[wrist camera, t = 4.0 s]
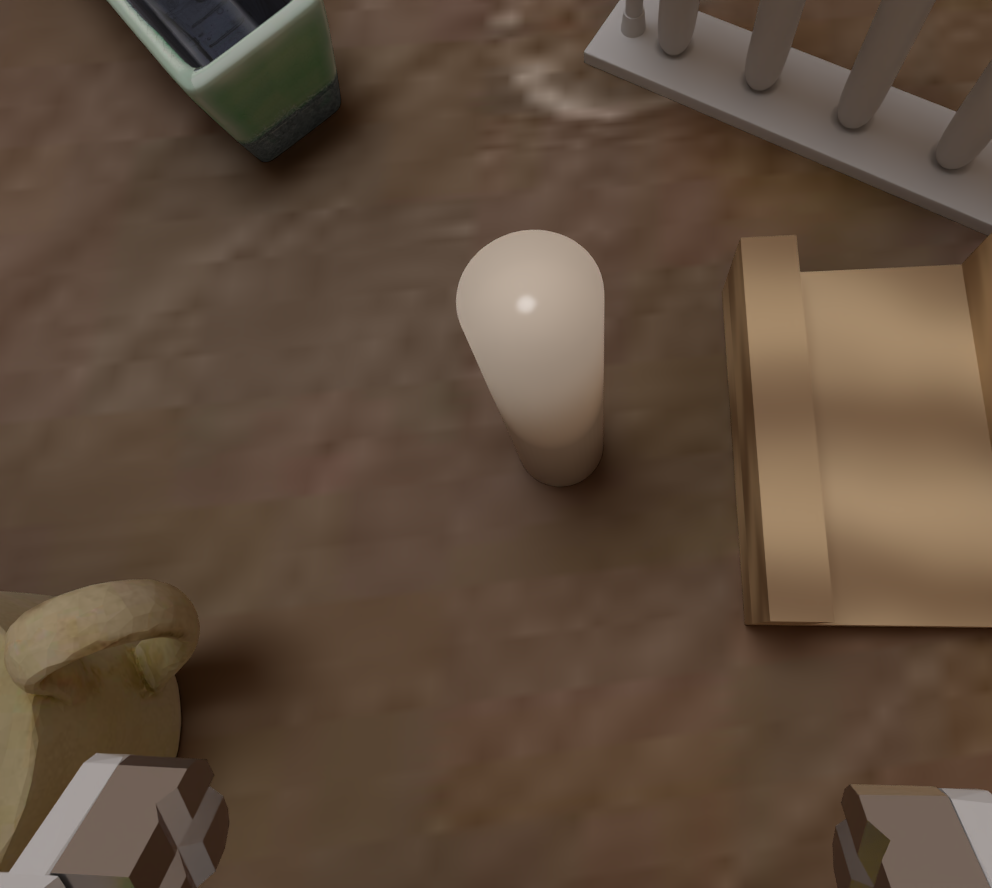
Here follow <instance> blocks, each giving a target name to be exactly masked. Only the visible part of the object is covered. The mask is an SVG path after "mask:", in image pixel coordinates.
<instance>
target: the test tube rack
mask: <svg viewBox="0 0 992 888" xmlns="http://www.w3.org/2000/svg"><path fill="white" fill-rule="evenodd" d="M805 1H806V0H760V3H759V7H758V11H757V15H756V19H755V23H754V27H753V32H751V31H748V30H746V29H743V28H740V27H738V26H735V25H733V24H730V23H728V22H725V21H723V20H720V19H717V18H715V17H712V16H710V15H707V14H705V13H702V12H700V11H698V8H699V2H700V0H620V1H619V2H618V4H617V5H616V7H615V8H614V10H613V11H612V12H611V14H610V15H609V17H608V18H607V20H606V21H605V22H604V24H603V25H602V27H601V28H600V30H599V31H598V32H597V34H596V35H595V37H594V38H593V40H592V41H591V42H590V44H589V45H588V47H587V48H586V50H585V51H584V62H585V63H587V64H589V65H591V66H593V67H596V68H598V69H600V70H603V71H605V72H607V73H610V74H612V75H614V76H617V77H619V78H622V79H624V80H626V81H629V82H631V83H633V84H636V85H638V86H640V87H643V88H645V89H647V90H650V91H652V92H654V93H657V94H659V95H661V96H664V97H666V98H668V99H671V100H673V101H675V102H678V103H680V104H682V105H685V106H687V107H689V108H692V109H694V110H696V111H699V112H701V113H703V114H706V115H708V116H710V117H713V118H715V119H717V120H720V121H722V122H724V123H727V124H729V125H731V126H733V127H736V128H738V129H740V130H743V131H745V132H747V133H750V134H752V135H754V136H757V137H759V138H761V139H764V140H766V141H768V142H771V143H773V144H775V145H778V146H780V147H782V148H785V149H787V150H789V151H792V152H794V153H796V154H799V155H801V156H803V157H806V158H808V159H810V160H813V161H815V162H817V163H820V164H822V165H824V166H827V167H829V168H831V169H834V170H836V171H838V172H841V173H843V174H845V175H848V176H850V177H852V178H855V179H857V180H859V181H862V182H864V183H866V184H869V185H871V186H873V187H876V188H878V189H880V190H883V191H885V192H887V193H890V194H892V195H894V196H897V197H899V198H901V199H904V200H906V201H908V202H911V203H913V204H915V205H918V206H920V207H922V208H925V209H927V210H929V211H932V212H934V213H936V214H939V215H941V216H943V217H946V218H948V219H950V220H953V221H955V222H957V223H960V224H962V225H964V226H966V227H969V228H971V229H973V230H976V231H978V232H980V233H983V234H985V235H987V236H989V235H990V234H991V233H992V60H991V61H990V63H989V64H988V66H987V67H986V69H985V70H984V72H983V73H982V75H981V76H980V78H979V79H978V81H977V82H976V84H975V85H974V87H973V88H972V90H971V91H970V93H969V94H968V96H967V97H966V99H965V100H964V102H963V103H962V105H961V106H960V108H959V109H958V111H957V112H955V111H953V110H950V109H948V108H945V107H943V106H940V105H938V104H935V103H932V102H930V101H927V100H925V99H922V98H920V97H917V96H914V95H912V94H909V93H907V92H904V91H902V90H899V89H897V88H894V87H891V86H892V84H893V82H894V80H895V78H896V76H897V74H898V72H899V70H900V68H901V66H902V64H903V62H904V60H905V59H906V57H907V55H908V53H909V51H910V49H911V47H912V45H913V43H914V41H915V39H916V37H917V35H918V33H919V32H920V30H921V28H922V26H923V24H924V22H925V20H926V18H927V16H928V14H929V12H930V10H931V8H932V6H933V4H934V3H935V1H936V0H882V1H881V3H880V5H879V8H878V10H877V12H876V15H875V17H874V19H873V21H872V24H871V26H870V28H869V31H868V33H867V35H866V38H865V40H864V42H863V44H862V47H861V49H860V51H859V54H858V56H857V58H856V61H855V63H854V65H853V67H852V70H848V69H845V68H843V67H840V66H838V65H835V64H833V63H830V62H827V61H825V60H822V59H820V58H817V57H815V56H812V55H810V54H807V53H804V52H802V51H799V50H797V49H794V48H792V47H791V45H792V42H793V39H794V36H795V33H796V29H797V26H798V23H799V20H800V17H801V14H802V11H803V7H804V4H805Z"/></svg>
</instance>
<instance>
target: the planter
mask: <svg viewBox="0 0 992 888" xmlns="http://www.w3.org/2000/svg"><path fill="white" fill-rule="evenodd" d="M107 1H108V3H109V4H110V5H111V6H112V7H113V9H114V10H115V11H116V12H117V13H118V14H119V16H120V17H121V18H122V19H123V20H124V22H125V23H126V24H127V25H128V26H129V28H130V29H131V30H132V31H133V32H134V34H135V35H136V36H137V37H138V38H139V39H140V41H141V42H142V43H143V44H144V45H145V47H146V48H147V49H148V50H149V51H150V52H151V54H152V55H153V56H154V57H155V58H156V60H157V61H158V62H159V63H160V64H161V65H162V67H163V68H164V69H165V70H166V71H167V72H168V74H169V75H170V76H171V77H172V78H173V79H174V80H175V82H176V83H177V84H178V85H179V86H180V87H181V88H182V89H183V90H184V91H185V92H186V94H187V95H188V96H189V97H190V98H191V99H192V100H193V101H194V102H195V103H196V104H197V105H198V106H200V107H201V108H202V109H203V110H204V111H205V112H206V113H207V114H208V115H209V116H210V117H211V118H212V119H213V120H215V121H216V122H217V123H218V124H219V125H220V126H221V127H222V128H223V129H224V130H226V131H227V132H228V133H229V134H230V135H231V136H232V137H233V138H234V139H236V140H237V141H238V142H239V143H240V144H241V145H242V146H244V147H245V148H246V149H247V150H248V151H249V152H251V153H252V154H253V155H254V156H256V157H257V158H258V159H259V160H261V161H262V162H268V161H271V160H273V159H274V158H276V157H277V156H279V155H280V154H281V153H283V152H284V151H285V150H287V149H288V148H289V147H291V146H292V145H293V144H295V143H296V142H297V141H299V140H300V139H301V138H303V137H304V136H305V135H306V134H308V133H309V132H310V131H312V130H313V129H314V128H316V127H317V126H318V125H319V124H321V123H322V122H323V121H325V120H326V119H327V118H328V117H330V116H331V115H332V114H334V113H335V112H336V111H337V110H338V109H339V107H340V103H341V97H340V89H339V82H338V76H337V70H336V64H335V58H334V52H333V47H332V41H331V35H330V30H329V25H328V20H327V15H326V11H325V7H324V3H323V0H107Z"/></svg>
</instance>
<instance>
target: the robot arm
mask: <svg viewBox="0 0 992 888" xmlns="http://www.w3.org/2000/svg"><path fill="white" fill-rule="evenodd" d="M213 777H214V773H213V771H212V769H211V767H210V765H209V763H208V761H207V759H194V758H177V757H159V756H142V755H131V754H107V753H96V754H95V755H93V756H92V757H91V758H89V759H88V760H87V761H85V762H84V763H83V764H82V766H81V767H80V768H79V770H78V771H77V773H76V774H75V776H74V777H73V779H72V780H71V782H70V783H69V785H68V786H67V788H66V789H65V790H64V792H63V793H62V795H61V796H60V798H59V799H58V801H57V802H56V804H55V805H54V807H53V808H52V810H51V811H50V812H49V814H48V815H47V817H46V818H45V820H44V821H43V823H42V824H41V826H40V827H39V829H38V830H37V831H36V833H35V834H34V836H33V837H32V839H31V840H30V842H29V843H28V845H27V846H26V848H25V849H24V851H23V852H22V853H21V855H20V856H19V858H18V859H17V861H16V862H15V864H14V865H13V867H12V868H11V870H10V871H9V872H0V888H197V887H198V886H199V885H200V884H201V883H202V882H204V881H205V880H206V879H207V878H208V877H209V876H210V875H211V874H213V873H214V872H215V871H216V869H217V866H218V864H219V861H220V859H221V857H222V854H223V852H224V849H225V845H226V840H227V834H228V829H229V814H228V807H227V805H226V802H225V799H224V797H223V796H222V795H221V794H219V793H218V792H217V791H215V790H214V789H213V788H211V787H210V786H209V785H210V783H211V781H212V779H213ZM841 804H842V808H843V811H844V814H845V817H846V819H845V820H844V821H842V822H841V823H839V824H838V825H836V827H835V833H834V838H833V867H834V873H835V878H836V883H837V888H992V794H991V793H990V792H989V791H987V790H982V789H952V788H936V787H935V786H896V785H855V784H850V785H848V786H847V787H846V788H845V789H844V793H843V797H842V801H841Z"/></svg>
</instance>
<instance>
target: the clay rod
mask: <svg viewBox="0 0 992 888" xmlns="http://www.w3.org/2000/svg"><path fill="white" fill-rule="evenodd" d="M456 309H457V314H458V318H459V321H460V324H461V327H462V329H463V331H464V334H465V336H466V338H467V340H468V343H469V345H470V347H471V349H472V352H473V354H474V356H475V358H476V361H477V363H478V365H479V367H480V370H481V372H482V374H483V377H484V379H485V381H486V383H487V386H488V388H489V390H490V392H491V395H492V397H493V399H494V401H495V404H496V406H497V408H498V410H499V413H500V415H501V417H502V419H503V422H504V424H505V426H506V428H507V431H508V433H509V435H510V437H511V440H512V442H513V444H514V446H515V449H516V451H517V453H518V455H519V458H520V460H521V462H522V464H523V466H524V468H525V469H526V471H527V472H528V473H529V474H530V475H531V476H532V477H534V478H535V479H536V480H538V481H540V482H542V483H544V484H547V485H550V486H558V487H562V486H570V485H573V484H576V483H579V482H581V481H583V480H584V479H586V478H587V477H588V476H589V475H590V474H591V473H592V472H593V471H594V470H595V469H596V467H597V466H598V464H599V462H600V460H601V457H602V453H603V418H604V285H603V280H602V276H601V273H600V271H599V268H598V266H597V265H596V263H595V261H594V259H593V258H592V257H591V256H590V254H589V253H588V252H587V251H586V250H585V249H584V248H583V247H582V246H580V245H579V244H578V243H576V242H575V241H573V240H571V239H570V238H568V237H566V236H563V235H561V234H558V233H554V232H550V231H544V230H525V231H518V232H514V233H510V234H507V235H505V236H502V237H500V238H498V239H496V240H494V241H492V242H491V243H489V244H488V245H486V246H485V247H484V248H482V249H481V250H480V251H479V252H478V253H477V254H476V255H475V256H474V257H473V258H472V259H471V261H470V262H469V264H468V265H467V266H466V268H465V270H464V272H463V274H462V276H461V279H460V281H459V285H458V289H457V296H456Z"/></svg>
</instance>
